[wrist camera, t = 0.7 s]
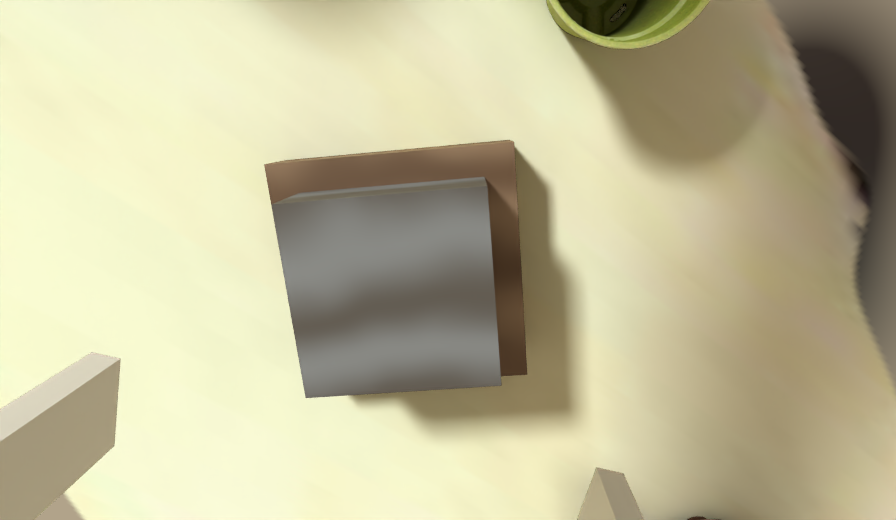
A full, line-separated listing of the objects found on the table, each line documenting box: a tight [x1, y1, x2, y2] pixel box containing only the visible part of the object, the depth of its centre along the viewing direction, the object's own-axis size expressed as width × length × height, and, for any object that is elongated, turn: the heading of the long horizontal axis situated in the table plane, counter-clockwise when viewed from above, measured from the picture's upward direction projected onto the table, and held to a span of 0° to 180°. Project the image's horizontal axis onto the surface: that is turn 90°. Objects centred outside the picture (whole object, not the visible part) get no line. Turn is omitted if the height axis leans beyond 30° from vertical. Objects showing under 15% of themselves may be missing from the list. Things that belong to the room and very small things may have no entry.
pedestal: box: [264, 140, 527, 398], centre depth 34 cm, size 16×16×9 cm
